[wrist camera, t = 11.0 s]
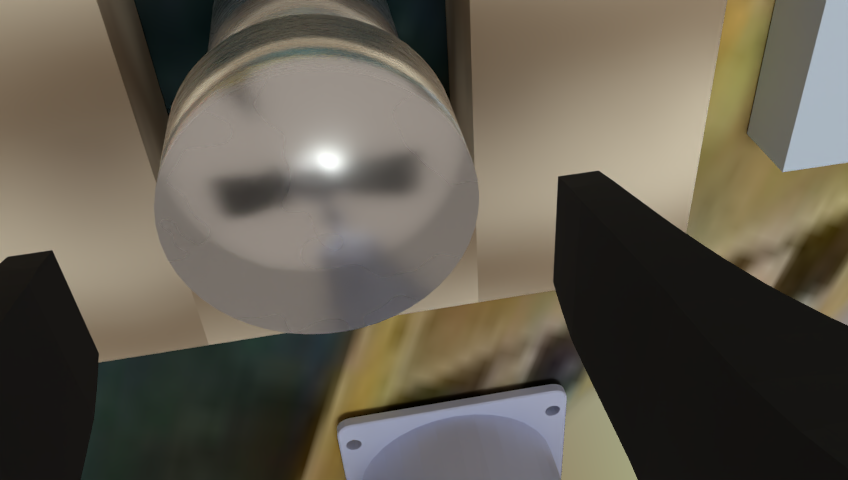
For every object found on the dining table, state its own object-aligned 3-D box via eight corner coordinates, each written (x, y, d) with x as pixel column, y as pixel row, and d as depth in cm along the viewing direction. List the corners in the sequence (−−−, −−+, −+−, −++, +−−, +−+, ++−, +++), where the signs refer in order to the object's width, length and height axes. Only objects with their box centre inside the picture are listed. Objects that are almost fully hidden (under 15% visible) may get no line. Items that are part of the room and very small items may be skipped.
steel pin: (414, 97, 21) (482, 309, 14) (217, 124, 20) (198, 354, 14) (398, -108, 17) (474, 49, 11) (164, -81, 17) (109, 96, 11)
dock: (638, 206, 24) (679, 270, 22) (13, 300, 22) (-15, 380, 20) (714, -393, 15) (796, -392, 13) (-299, -306, 14) (-413, -289, 11)
